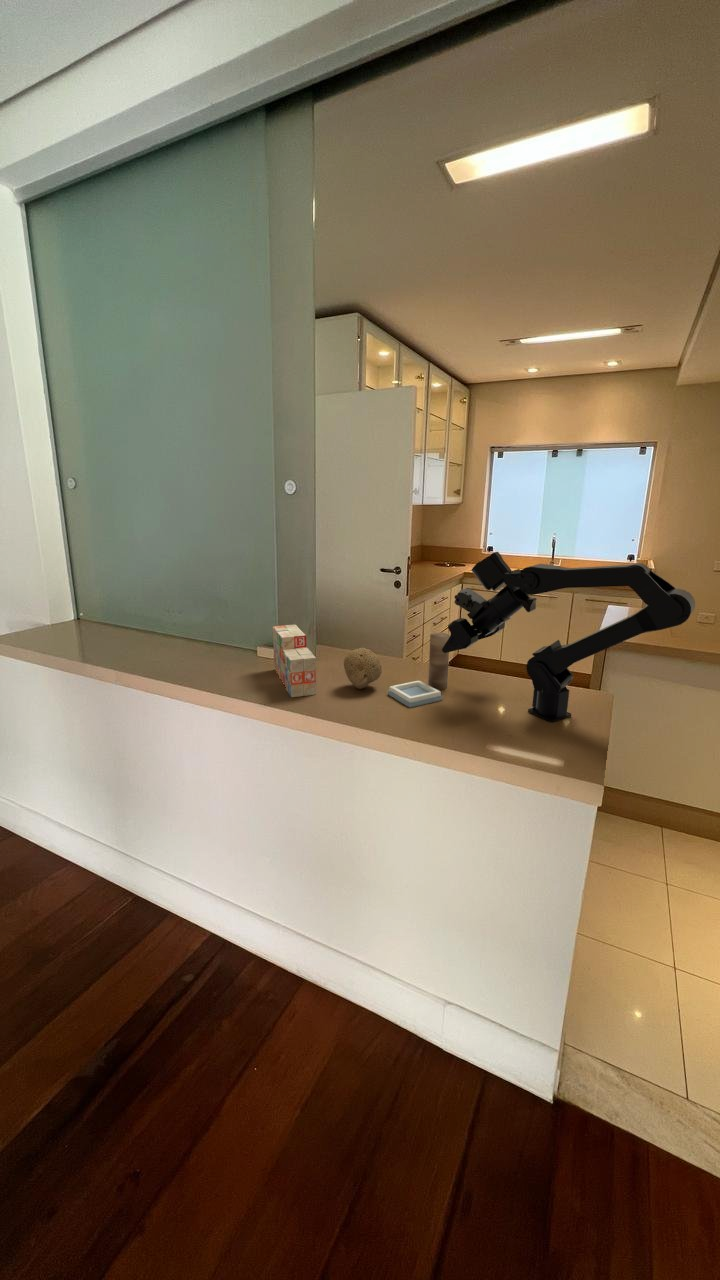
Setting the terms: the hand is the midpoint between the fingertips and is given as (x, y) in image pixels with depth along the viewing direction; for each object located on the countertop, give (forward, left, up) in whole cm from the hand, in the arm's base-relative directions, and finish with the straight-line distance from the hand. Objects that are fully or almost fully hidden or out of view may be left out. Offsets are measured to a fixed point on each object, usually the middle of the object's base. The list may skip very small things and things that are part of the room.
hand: (452, 646), depth 121 cm
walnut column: (+3, +1, -11) cm, 11 cm away
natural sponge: (+11, +18, -11) cm, 24 cm away
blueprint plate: (0, +10, -11) cm, 15 cm away
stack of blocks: (+24, +31, -11) cm, 40 cm away
